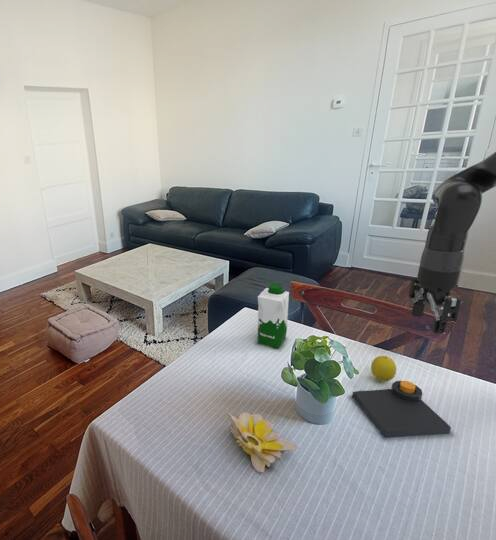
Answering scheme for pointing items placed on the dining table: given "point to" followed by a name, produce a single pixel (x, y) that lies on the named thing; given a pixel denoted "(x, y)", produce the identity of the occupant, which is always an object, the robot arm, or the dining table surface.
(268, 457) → the decorative flower
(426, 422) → the scale
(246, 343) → the dining table surface
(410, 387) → the tare button
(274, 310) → the milk carton
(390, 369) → the lemon
